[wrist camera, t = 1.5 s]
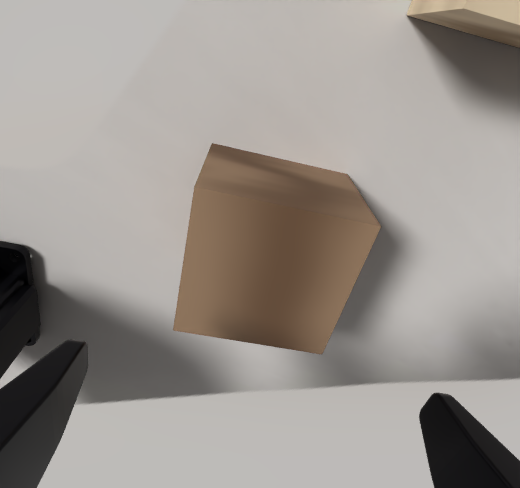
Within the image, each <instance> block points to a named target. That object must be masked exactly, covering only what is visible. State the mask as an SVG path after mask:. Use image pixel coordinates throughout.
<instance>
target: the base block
mask: <svg viewBox="0 0 520 488" xmlns="http://www.w3.org/2000/svg"><path fill="white" fill-rule="evenodd" d="M407 16H411V17H414V18H418V19H421V20H424V21H428V22H431V23H435V24H438V25H442V26H445V27H449V28H452V29H456V30H459V31H462V32H466V33H469V34H473V35H476V36H480V37H483V38H487V39H490V40H494V41H497V42H500V43H504V44H507V45H511V46H514V47H518V48H520V0H412V2H411V5H410V8H409V10H408V13H407Z"/></svg>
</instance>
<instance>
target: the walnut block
mask: <svg viewBox="0 0 520 488" xmlns="http://www.w3.org/2000/svg"><path fill="white" fill-rule="evenodd" d="M380 228H381V226H380V224H379V222H378V221H377V219H376V218H375V216H374V215H373V213H372V212H371V210H370V208H369V207H368V205H367V204H366V202H365V201H364V199H363V198H362V196H361V194H360V193H359V191H358V190H357V188H356V187H355V185H354V184H353V182H352V181H351V179H350V177H349V176H348V174H344V173H339V172H335V171H331V170H326V169H322V168H318V167H313V166H309V165H305V164H300V163H296V162H292V161H287V160H283V159H278V158H274V157H270V156H265V155H261V154H257V153H252V152H248V151H244V150H239V149H235V148H231V147H226V146H222V145H217V144H213V143H212V145H211V147H210V150H209V152H208V155H207V157H206V160H205V162H204V165H203V167H202V169H201V172H200V174H199V177H198V179H197V182H196V184H195V187H194V193H193V200H192V207H191V213H190V220H189V227H188V234H187V240H186V247H185V254H184V260H183V267H182V274H181V281H180V287H179V294H178V301H177V308H176V314H175V321H174V328H173V330H174V331H180V332H186V333H193V334H199V335H205V336H211V337H217V338H223V339H230V340H236V341H242V342H248V343H254V344H261V345H267V346H273V347H279V348H285V349H292V350H298V351H304V352H310V353H316V354H322V353H323V351H324V349H325V347H326V345H327V343H328V340H329V338H330V336H331V334H332V332H333V330H334V327H335V325H336V323H337V321H338V319H339V317H340V314H341V312H342V310H343V308H344V306H345V304H346V301H347V299H348V297H349V295H350V293H351V291H352V289H353V286H354V284H355V282H356V280H357V278H358V276H359V273H360V271H361V269H362V267H363V265H364V263H365V260H366V258H367V256H368V254H369V252H370V250H371V247H372V245H373V243H374V241H375V239H376V237H377V234H378V232H379V230H380Z"/></svg>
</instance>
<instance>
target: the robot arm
mask: <svg viewBox="0 0 520 488" xmlns="http://www.w3.org/2000/svg"><path fill="white" fill-rule="evenodd" d="M15 254H17V255H18V256H19V257H20V258H19V257H17V256H16V255H15ZM39 326H40V315H39V306H38V297H37V290H36V288H35V287H34V283H33V275H32V267H31V258H30V253H29V251H28V250H27V249H26V248H25V247H23V246H21V245H17V244H11V243H6V242H0V378H1V377H2V376H3V374H4V373H5V372H6V370H7V369H8V368H9V366H10V365H11V364H12V362H13V361H14V360H15V358H16V357H17V356H18V354H19V353H20V351H21V350H22V349H23V347H24V346H25V345H26V346H31V345H34V344H35V343H36V342H37V340H38V339H39V337H40V334H39ZM87 368H88V346H87V343H86V342H85V341H80V340H73V339H69V340H67V341H65V342H64V343H62V344H61V345H59V346H58V347H57V348H55V349H54V350H53V351H51V352H50V353H49V354H47V355H46V356H45V357H43V358H42V359H40V360H39V361H38V362H36V363H35V364H34V365H32V366H31V367H30V368H28V369H27V370H25V371H24V372H23V373H21V374H20V375H19V376H17V377H16V378H15V379H13V380H12V381H10V382H9V383H8V384H6V385H5V386H4V387H2V388H1V389H0V488H37V486H38V484H39V482H40V480H41V478H42V476H43V474H44V472H45V470H46V468H47V466H48V464H49V462H50V460H51V458H52V456H53V454H54V453H55V450H56V448H57V446H58V444H59V442H60V440H61V438H62V435H63V433H64V430H65V428H66V425H67V422H68V420H69V417H70V415H71V412H72V409H73V407H74V404H75V402H76V399H77V396H78V394H79V391H80V388H81V386H82V383H83V380H84V378H85V375H86V372H87ZM419 418H420V424H421V429H422V434H423V439H424V443H425V448H426V453H427V457H428V463H429V467H430V472H431V476H432V480H433V484H434V488H520V461H519V460H518V459H517V458H516V457H515V456H514V455H513V454H512V453H511V452H510V451H509V450H508V449H507V448H506V447H505V446H503V444H501V443H500V442H499V441H498V440H497V439H496V438H495V437H494V436H493V435H492V434H491V433H490V432H489V431H488V430H487V429H486V428H485V427H484V426H483V425H482V424H481V423H479V422H478V421H477V420H476V419H475V418H474V417H473V416H472V415H471V414H470V413H469V412H468V411H467V410H466V409H465V408H464V407H463V406H462V405H461V404H460V403H459V402H458V401H456V400H455V399H454V398H453V397H452V396H451V395H448V394H443V393H434V394H432V395H431V397H430V398H429V399H428V401H427V402H426V404H425V405H424V406H423V407H422V409H421V411H420V415H419Z"/></svg>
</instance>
